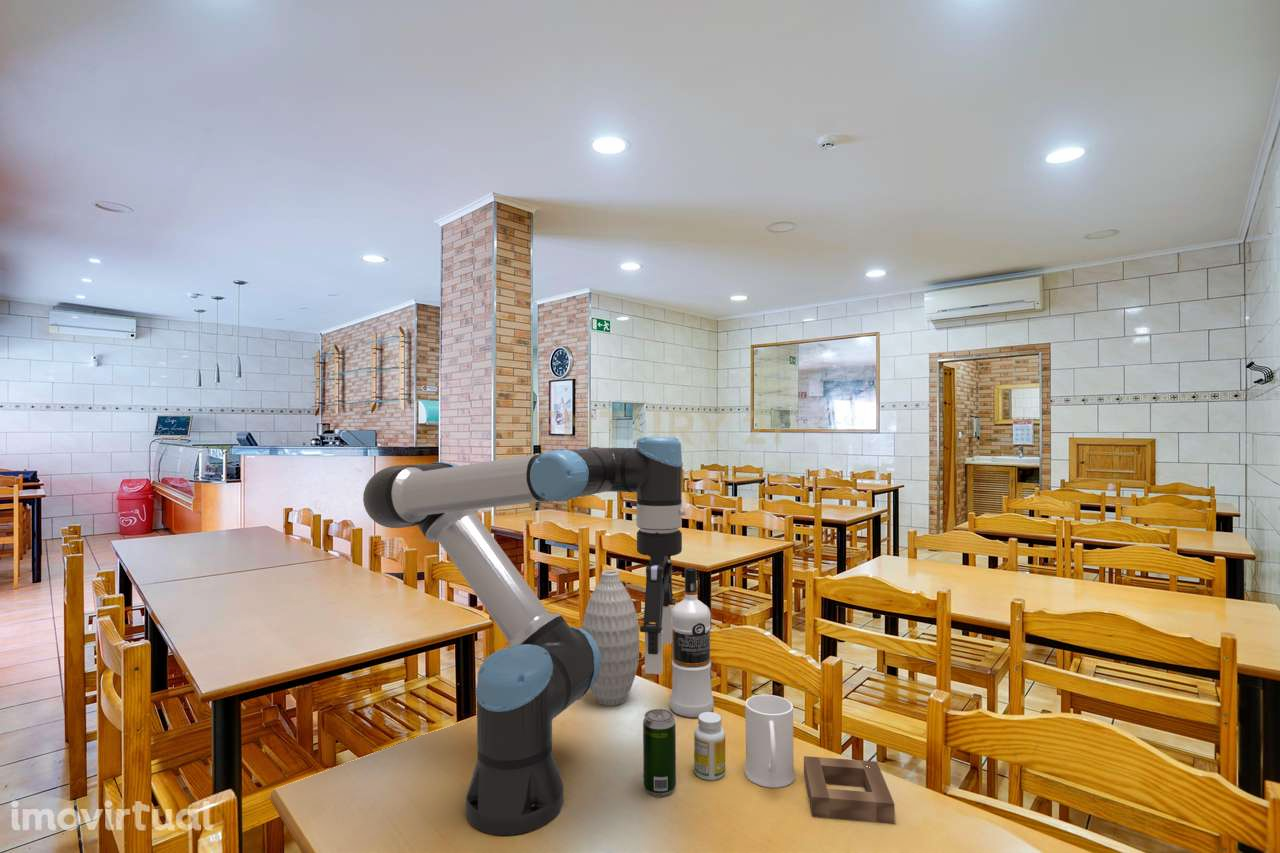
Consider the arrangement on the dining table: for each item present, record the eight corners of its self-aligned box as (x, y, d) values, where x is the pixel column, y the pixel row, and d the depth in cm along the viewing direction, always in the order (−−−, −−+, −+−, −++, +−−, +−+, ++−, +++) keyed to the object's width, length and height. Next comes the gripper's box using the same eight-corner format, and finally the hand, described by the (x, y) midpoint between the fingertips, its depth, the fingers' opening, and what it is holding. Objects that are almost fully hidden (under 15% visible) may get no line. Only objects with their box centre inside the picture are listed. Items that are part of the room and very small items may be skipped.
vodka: (705, 698, 136) (704, 562, 137) (719, 716, 127) (718, 571, 128) (665, 702, 134) (664, 564, 135) (676, 721, 125) (675, 573, 126)
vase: (619, 718, 127) (619, 581, 127) (570, 704, 134) (569, 574, 134) (650, 695, 138) (649, 569, 138) (603, 683, 144) (602, 563, 145)
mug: (796, 802, 98) (796, 726, 98) (742, 796, 99) (741, 721, 100) (794, 763, 109) (793, 695, 109) (745, 758, 111) (745, 691, 111)
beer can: (679, 795, 100) (679, 721, 100) (647, 799, 99) (647, 724, 99) (671, 777, 105) (670, 706, 105) (640, 781, 104) (639, 710, 104)
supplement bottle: (695, 781, 104) (695, 724, 104) (693, 764, 109) (692, 709, 109) (727, 781, 104) (727, 724, 104) (723, 764, 109) (723, 709, 109)
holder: (812, 816, 94) (811, 796, 94) (803, 773, 106) (803, 756, 106) (894, 823, 92) (894, 803, 92) (877, 779, 104) (876, 761, 104)
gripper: (674, 543, 89) (674, 689, 89) (687, 519, 114) (687, 633, 114) (623, 541, 91) (623, 686, 90) (647, 518, 115) (647, 631, 115)
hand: (659, 657), depth 102 cm, fingers open, 13 cm apart
